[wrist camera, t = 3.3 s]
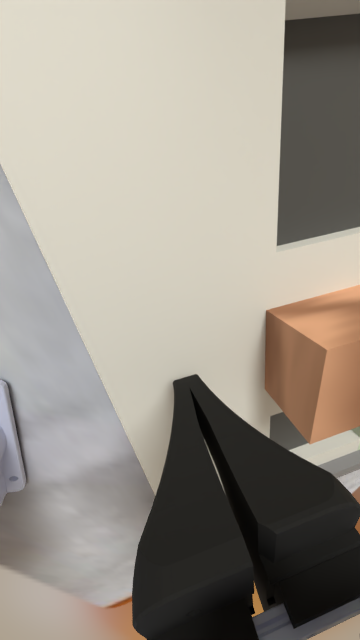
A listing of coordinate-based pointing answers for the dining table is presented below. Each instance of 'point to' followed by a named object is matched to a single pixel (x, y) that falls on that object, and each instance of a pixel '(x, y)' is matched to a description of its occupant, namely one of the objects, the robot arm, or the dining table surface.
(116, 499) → the dining table surface
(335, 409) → the block
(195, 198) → the sectioned serving tray
